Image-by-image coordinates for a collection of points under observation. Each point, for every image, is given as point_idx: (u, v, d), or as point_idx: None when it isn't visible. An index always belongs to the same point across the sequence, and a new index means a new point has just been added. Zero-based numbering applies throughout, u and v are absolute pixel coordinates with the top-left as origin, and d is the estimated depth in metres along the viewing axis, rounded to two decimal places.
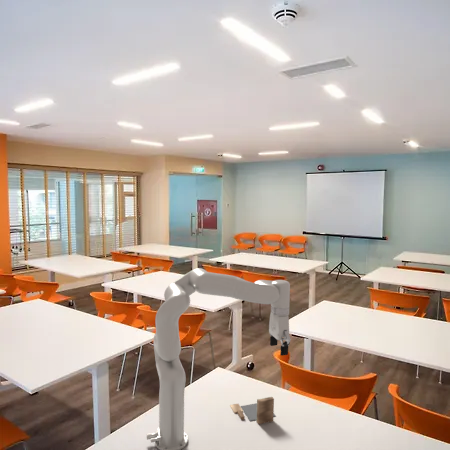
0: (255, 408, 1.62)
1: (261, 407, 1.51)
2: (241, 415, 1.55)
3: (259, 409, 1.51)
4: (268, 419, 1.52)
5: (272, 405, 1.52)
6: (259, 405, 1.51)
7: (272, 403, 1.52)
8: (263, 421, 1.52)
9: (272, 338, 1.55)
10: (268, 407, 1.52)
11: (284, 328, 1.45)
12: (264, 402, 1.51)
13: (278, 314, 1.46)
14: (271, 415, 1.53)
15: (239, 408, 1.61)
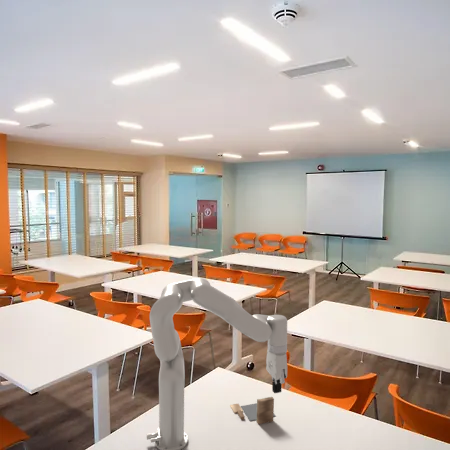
0: (255, 408, 1.62)
1: (261, 407, 1.51)
2: (241, 415, 1.55)
3: (259, 409, 1.51)
4: (268, 419, 1.52)
5: (272, 405, 1.52)
6: (259, 405, 1.51)
7: (272, 403, 1.52)
8: (263, 421, 1.52)
9: None
10: (268, 407, 1.52)
11: (282, 367, 1.37)
12: (264, 402, 1.51)
13: (275, 352, 1.38)
14: (271, 415, 1.53)
15: (239, 408, 1.61)
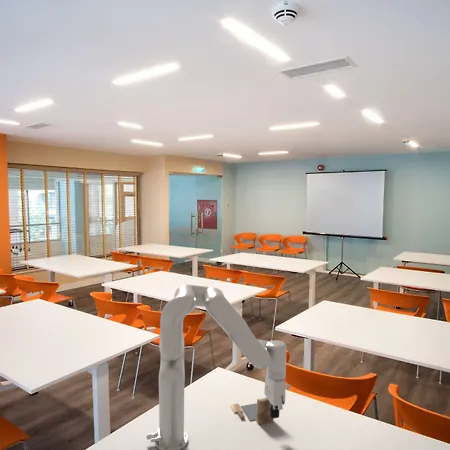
0: (255, 408, 1.62)
1: (261, 407, 1.51)
2: (241, 415, 1.55)
3: (259, 409, 1.51)
4: (268, 419, 1.52)
5: None
6: (259, 405, 1.51)
7: None
8: (263, 421, 1.52)
9: None
10: (268, 407, 1.52)
11: (280, 394, 1.38)
12: (264, 402, 1.51)
13: (274, 378, 1.39)
14: None
15: (239, 408, 1.61)
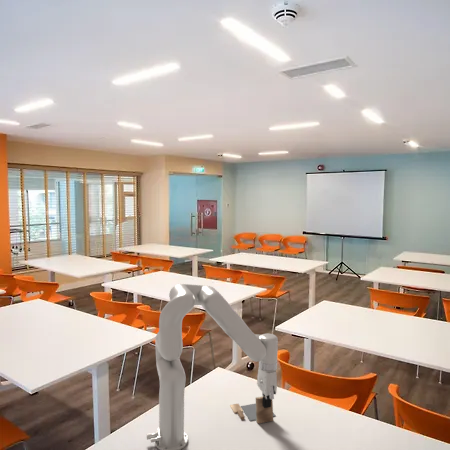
0: (255, 408, 1.62)
1: (260, 405, 1.52)
2: (241, 415, 1.55)
3: (258, 407, 1.52)
4: (268, 418, 1.53)
5: (271, 403, 1.54)
6: (258, 403, 1.52)
7: (271, 401, 1.54)
8: (263, 420, 1.52)
9: None
10: None
11: (271, 384, 1.45)
12: None
13: (266, 369, 1.46)
14: (271, 414, 1.53)
15: (239, 408, 1.61)
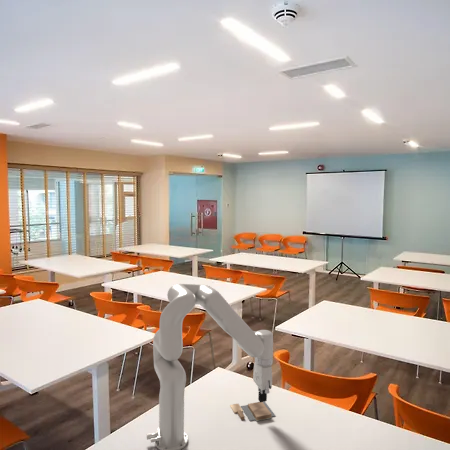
0: None
1: (252, 406, 1.60)
2: (241, 415, 1.55)
3: (251, 408, 1.59)
4: (265, 413, 1.55)
5: (263, 405, 1.61)
6: (250, 406, 1.60)
7: (262, 403, 1.62)
8: (261, 414, 1.54)
9: None
10: (260, 406, 1.60)
11: (267, 379, 1.49)
12: (253, 403, 1.62)
13: (261, 365, 1.50)
14: (266, 410, 1.57)
15: (239, 408, 1.61)
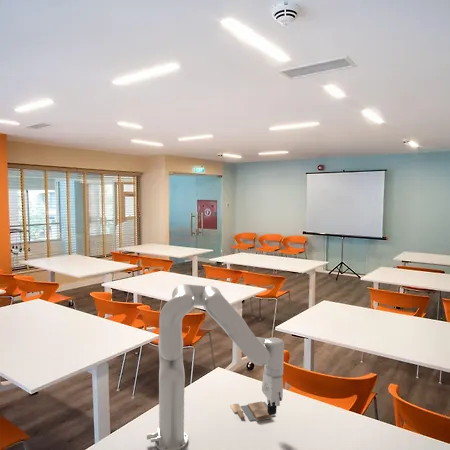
0: None
1: (252, 406, 1.60)
2: (241, 415, 1.55)
3: (251, 408, 1.59)
4: (265, 413, 1.55)
5: (263, 405, 1.61)
6: (250, 406, 1.60)
7: (262, 403, 1.62)
8: (261, 414, 1.54)
9: None
10: (260, 406, 1.60)
11: (277, 390, 1.40)
12: (253, 403, 1.62)
13: (271, 375, 1.41)
14: (266, 410, 1.57)
15: (239, 408, 1.61)
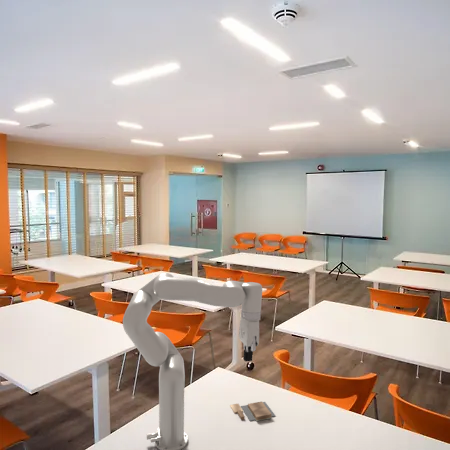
0: None
1: (252, 406, 1.60)
2: (241, 415, 1.55)
3: (251, 408, 1.59)
4: (265, 413, 1.55)
5: (263, 405, 1.61)
6: (250, 406, 1.60)
7: (262, 403, 1.62)
8: (261, 414, 1.54)
9: None
10: (260, 406, 1.60)
11: (254, 334, 1.35)
12: (253, 403, 1.62)
13: (248, 319, 1.36)
14: (266, 410, 1.57)
15: (239, 408, 1.61)
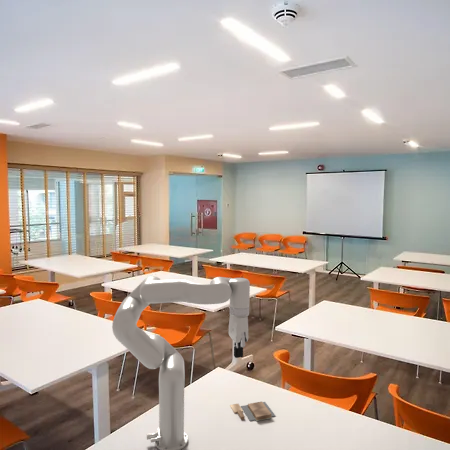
0: None
1: (252, 406, 1.60)
2: (241, 415, 1.55)
3: (251, 408, 1.59)
4: (265, 413, 1.55)
5: (263, 405, 1.61)
6: (250, 406, 1.60)
7: (262, 403, 1.62)
8: (261, 414, 1.54)
9: None
10: (260, 406, 1.60)
11: (242, 330, 1.34)
12: (253, 403, 1.62)
13: (236, 315, 1.35)
14: (266, 410, 1.57)
15: (239, 408, 1.61)
